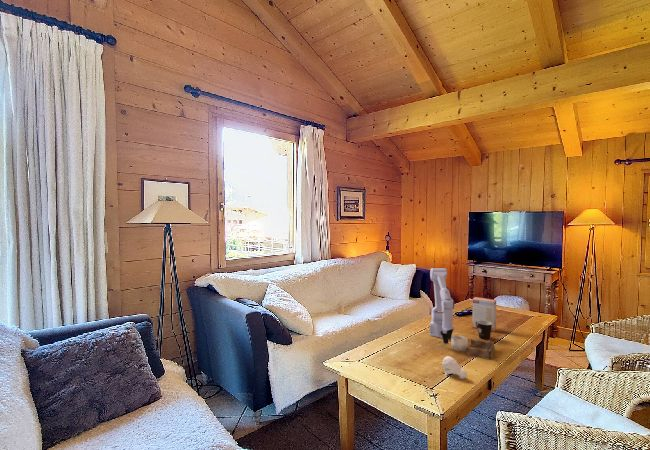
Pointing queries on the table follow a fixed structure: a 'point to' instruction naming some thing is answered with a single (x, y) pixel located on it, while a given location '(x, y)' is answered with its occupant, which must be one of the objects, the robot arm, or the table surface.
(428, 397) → the table surface
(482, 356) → the cradle
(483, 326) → the coffee mug
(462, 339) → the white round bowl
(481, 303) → the cracker box
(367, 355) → the table surface
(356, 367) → the table surface
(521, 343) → the table surface
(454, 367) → the white rounded piece
